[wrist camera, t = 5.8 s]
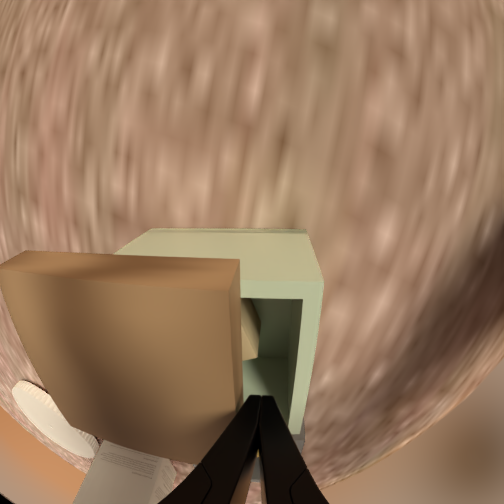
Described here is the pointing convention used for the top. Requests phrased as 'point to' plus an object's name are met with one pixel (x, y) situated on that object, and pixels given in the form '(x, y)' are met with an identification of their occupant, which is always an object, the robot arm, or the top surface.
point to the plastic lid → (52, 420)
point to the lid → (133, 344)
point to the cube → (249, 329)
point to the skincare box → (126, 477)
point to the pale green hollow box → (262, 301)
